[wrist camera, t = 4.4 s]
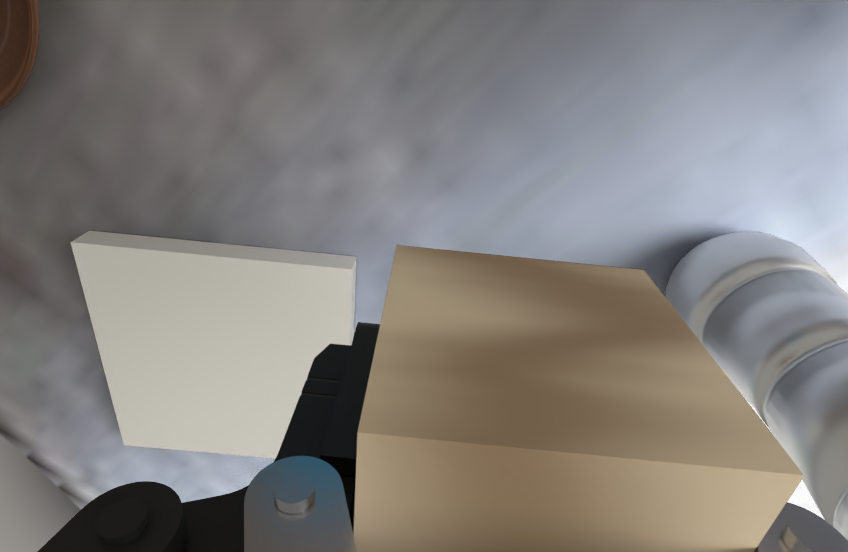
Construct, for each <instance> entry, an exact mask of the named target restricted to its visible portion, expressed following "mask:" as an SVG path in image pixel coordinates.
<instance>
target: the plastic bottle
mask: <svg viewBox="0 0 848 552" xmlns="http://www.w3.org/2000/svg"><path fill="white" fill-rule="evenodd" d="M665 297H666V298H667V300H668V301H669V302H670V304H671V305H672V306H673V307H674V309H675V310H676V311H677V313H678V314H679V315H680V316H681V318H682V319H683V320H684V322H685V323H686V324H687V325H688V327H689V328H690V329H691V330H692V332H693V333H694V334H695V336H696V337H697V338H698V339H699V341H700V342H701V343H702V345H703V346H704V347H705V348H706V350H707V351H708V352H709V354H710V355H711V356H712V357H713V359H714V360H715V361H716V363H717V364H718V365H719V366H720V368H721V369H722V370H723V372H724V373H725V374H726V375H727V377H728V378H729V379H730V381H731V382H732V383H733V384H734V386H735V387H736V388H737V389H738V391H739V392H740V393H741V394H742V395H743V396H744V397H745V398H746V399H747V400H748V401H749V403H750V404H751V405H752V406H753V407H754V408H755V409H756V411H757V412H758V414H759V415H760V417H761V418H762V419H763V421H764V422H765V423H766V425H767V426H768V427H769V429H770V431H771V432H772V434H773V435H774V436H775V438H776V439H777V441H778V442H779V443H780V445H781V446H782V447H783V448H784V450H785V451H786V452H787V454H788V455H789V456H790V457H791V459H792V460H793V461H794V463H795V464H796V465H797V466H798V468H799V469H800V470H801V472H802V473H803V474H804V475H805V476H804V477H803V479H802V480H803V482H804V483H805V485H806V487H807V489H808V490H809V492H810V494H811V496H812V498H813V499H814V501H815V503H816V505H817V506H818V508H819V510H820V512H821V513H822V515H823V517H824V519H825V521H826V522H828V523H829V524H830V525H832V526H833V527H834V528H835V529H836V530H838V531H839V532H840V533H841V534H842V535H843V536H844V537H845V538H846V539H847V540H848V294H847V293H846V292H845V291H844V290H842V289H841V288H840V287H839V286H838V285H837V284H836V282H835V281H834V279H833V278H832V277H831V276H830V274H829V273H828V272H827V271H826V270H825V269H824V268H823V267H822V266H821V265H820V264H819V263H818V262H817V261H816V260H815V259H814V258H813V257H812V256H810V255H809V254H808V253H807V252H806V251H805V250H804V249H803V248H801V247H799V246H798V245H796V244H794V243H792V242H789V241H787V240H784V239H781V238H778V237H776V236H773V235H770V234H766V233H762V232H756V231H741V232H732V233H728V234H725V235H721V236H717V237H714V238H712V239H709V240H707V241H705V242H703V243H701V244H699V245H698V246H696V247H694V248H693V249H692V250H691V251H689V252H688V253H687V254H686V255H685V256H684V257H683V258H682V259H681V260H680V261H679V263H678V264H677V265H676V267H675V269H674V270H673V272H672V274H671V276H670V278H669V281H668V284H667V286H666V293H665Z"/></svg>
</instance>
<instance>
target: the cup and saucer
mask: <svg viewBox="0 0 848 552" xmlns="http://www.w3.org/2000/svg"><path fill="white" fill-rule="evenodd" d="M38 38H39V15H38V6H37V0H0V109H2V108H3V107H5V106H6V105H7V104H8V103H9V102H11V101H12V100H13V99H14V97H15V96H16V95H17V94H18V93H19V92H20V90H21V89H22V87H23V86H24V84H25V83H26V81H27V79H28V77H29V75H30V73H31V70H32V67H33V64H34V61H35V57H36V52H37V48H38Z"/></svg>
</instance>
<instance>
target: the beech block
mask: <svg viewBox="0 0 848 552" xmlns="http://www.w3.org/2000/svg"><path fill="white" fill-rule="evenodd" d="M804 476H805V475H804V474H803V473H802V472H801V470H800V469H799V468H798V466H797V465H796V464H795V463H794V461H793V460H792V459H791V457H790V456H789V455H788V454H787V452H786V451H785V450H784V448H783V447H782V446H781V445H780V443H779V442H778V441H777V439H776V438H775V437H774V436H773V434H772V433H771V432H770V431H769V429H768V428H767V427H766V425H765V424H764V423H763V422H762V420H761V419H760V418H759V416H758V415H757V414H756V413H755V411H754V410H753V409H752V407H751V406H750V405H749V404H748V402H747V401H746V400H745V398H744V397H743V396H742V395H741V393H740V392H739V391H738V389H737V388H736V387H735V386H734V384H733V383H732V382H731V381H730V379H729V378H728V377H727V375H726V374H725V373H724V372H723V370H722V369H721V368H720V366H719V365H718V364H717V363H716V361H715V360H714V359H713V357H712V356H711V355H710V354H709V352H708V351H707V350H706V348H705V347H704V346H703V345H702V343H701V342H700V341H699V339H698V338H697V337H696V336H695V334H694V333H693V332H692V330H691V329H690V328H689V327H688V325H687V324H686V323H685V322H684V320H683V319H682V318H681V316H680V315H679V314H678V313H677V311H676V310H675V309H674V307H673V306H672V305H671V304H670V302H669V301H668V300H667V298H666V297H665V296H664V295H663V293H662V292H661V291H660V289H659V288H658V287H657V286H656V284H655V283H654V282H653V280H652V279H651V278H650V277H649V275H648V274H647V273H646V272H645V270H640V269H630V268H620V267H610V266H600V265H591V264H581V263H571V262H561V261H551V260H541V259H531V258H521V257H511V256H501V255H491V254H481V253H471V252H461V251H451V250H441V249H431V248H421V247H411V246H401V245H397V247H396V252H395V256H394V261H393V266H392V271H391V275H390V280H389V285H388V290H387V294H386V299H385V304H384V309H383V313H382V318H381V323H380V328H379V332H378V337H377V342H376V347H375V351H374V356H373V361H372V366H371V370H370V375H369V380H368V385H367V389H366V394H365V399H364V404H363V408H362V413H361V418H360V423H359V428H358V432H357V458H356V483H355V509H354V540H355V545H356V550H357V552H754V551H755V549H756V548H757V546H758V545H759V543H760V542H761V540H762V539H763V537H764V536H765V534H766V533H767V531H768V530H769V528H770V527H771V525H772V524H773V522H774V521H775V519H776V518H777V516H778V515H779V513H780V512H781V510H782V509H783V507H784V506H785V504H786V503H787V501H788V500H789V498H790V497H791V495H792V494H793V492H794V491H795V489H796V488H797V486H798V485H799V483H800V482H801V480H802V479H803V477H804Z"/></svg>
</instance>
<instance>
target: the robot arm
mask: <svg viewBox="0 0 848 552" xmlns="http://www.w3.org/2000/svg"><path fill="white" fill-rule="evenodd" d="M379 328H380V324H371V323H361V322H358V324H357V327H356V331H355V334H354V338H353V341H352V345H351V346H350V345H340V344H329V345H328V346H327V347H326V348H325V349H324V350H323V351H322V352H320V353H319V354H318V355H317V356H316V357H315V358H314V360H313V363H312V366H311V368H310V371H309V373H308V376H307V380H306V381H305V384H304V387H303V389H302V393H301V396H300V397H299V400H298V402H297V405H296V408H295V410H294V413H293V416H292V418H291V421H290V423H289V426H288V429H287V431H286V434H285V437H284V439H283V442H282V444H281V447H280V450H279V452H278V455H277V457H276V459H275V461H274V463H272V464H270V465H268V466H267V467H265V468H264V469H263V470H261V471H260V472H259V473H258V474H257V475H256V476H255V477H254V479H253V480H252V481H251V483H250V485H249V486H247V487H245V488H243V489H241V490H238V491H235V492H233V493H229V494H225V495H221V496H216V497H211V498H206V499H201V500H195V501H190V502H185V503H181V501H180V498H179V496H178V495H177V494H176V492H175V491H174V490H172V489H171V488H170V487H168V486H166V485H164V484H161V483H156V482H135V483H130V484H126V485H123V486H119V487H117V488H114V489H112V490H110V491H107V492H106V493H104V494H102V495H100V496H98V497H97V498H95V499H94V500H93V501H91V502H90V503H88V504H87V505H86V506H85V507H84V508H83V509H81V510H80V511H79V512H78V513H77V514H76V515H75V516H74V517H73V518H72V519H71V520H70V521H69V522H68V523H67V524H66V525H65V526H64V527H63V528H62V529H61V530H60V531H59V532H58V533H57V534H56V535H55V536H54V537H52V538H51V540H49V541H48V542H47V543H46V544H45V545H44V546H43V547H42V548H41V549H40V550H39V551H38V552H357V550H356V545H355V540H354V509H355V483H356V458H357V432H358V428H359V423H360V418H361V413H362V408H363V404H364V399H365V394H366V389H367V385H368V380H369V375H370V370H371V366H372V361H373V356H374V351H375V347H376V342H377V337H378V332H379ZM754 552H848V540H847V539H846V538H845V537H844V536H843V535H842V534H841V533H840V532H839V531H838V530H836V529H835V528H834V527H833V526H832V525H830V524H829V523H828V522H826V521H825V520H823V519H822V518H821V517H819V516H817V515H816V514H814V513H812V512H810V511H808V510H806V509H804V508H802V507H799V506H797V505H794V504H791V503H786V504H785V506H784V507H783V509H782V510H781V512H780V513H779V515H778V516H777V518H776V519H775V521H774V522H773V524H772V525H771V527H770V528H769V530H768V531H767V533H766V534H765V536H764V537H763V539H762V540H761V542H760V543H759V545H758V546H757V548H756V549H755V551H754Z"/></svg>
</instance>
